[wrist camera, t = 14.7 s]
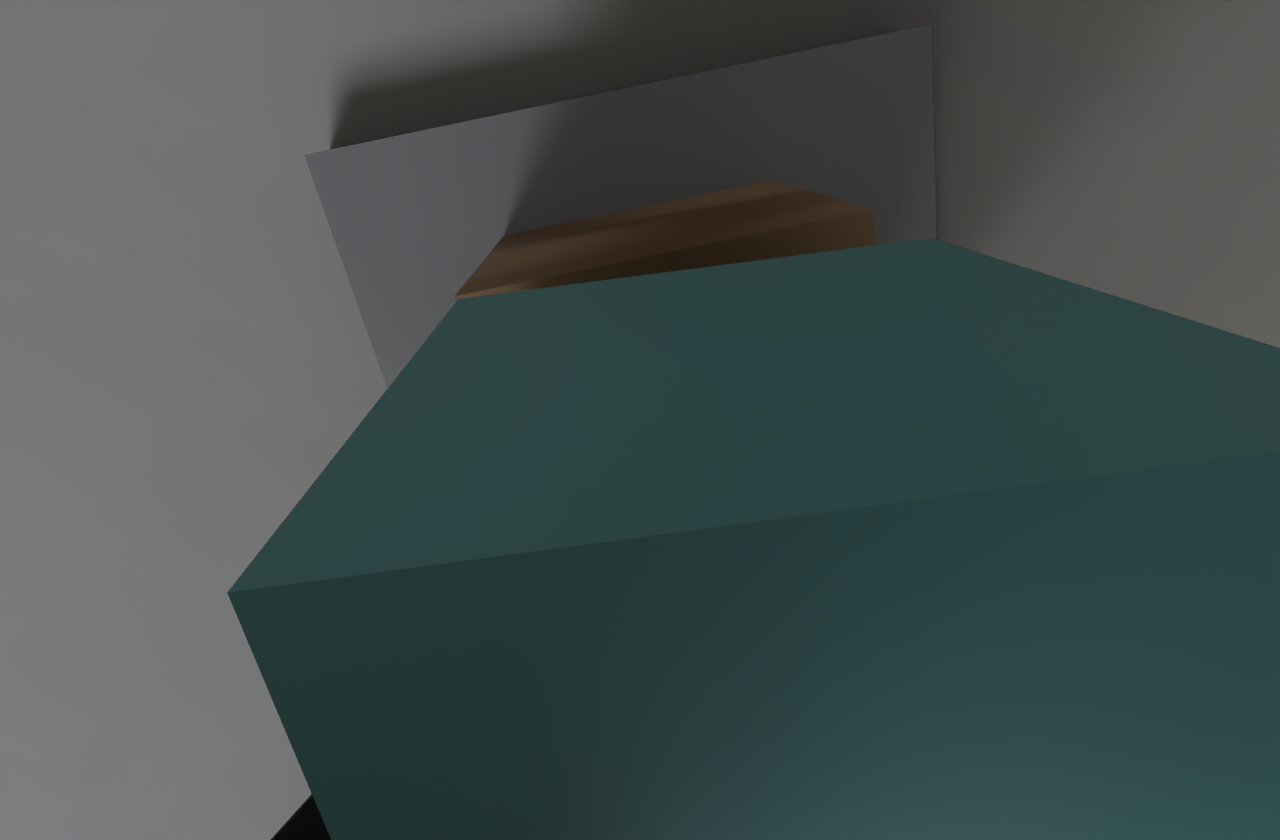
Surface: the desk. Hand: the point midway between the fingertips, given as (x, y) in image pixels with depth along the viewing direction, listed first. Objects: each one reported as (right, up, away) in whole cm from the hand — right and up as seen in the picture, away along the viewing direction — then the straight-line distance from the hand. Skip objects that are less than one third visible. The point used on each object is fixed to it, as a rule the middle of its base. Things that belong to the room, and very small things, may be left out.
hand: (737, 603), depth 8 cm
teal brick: (0, 0, +1) cm, 1 cm away
